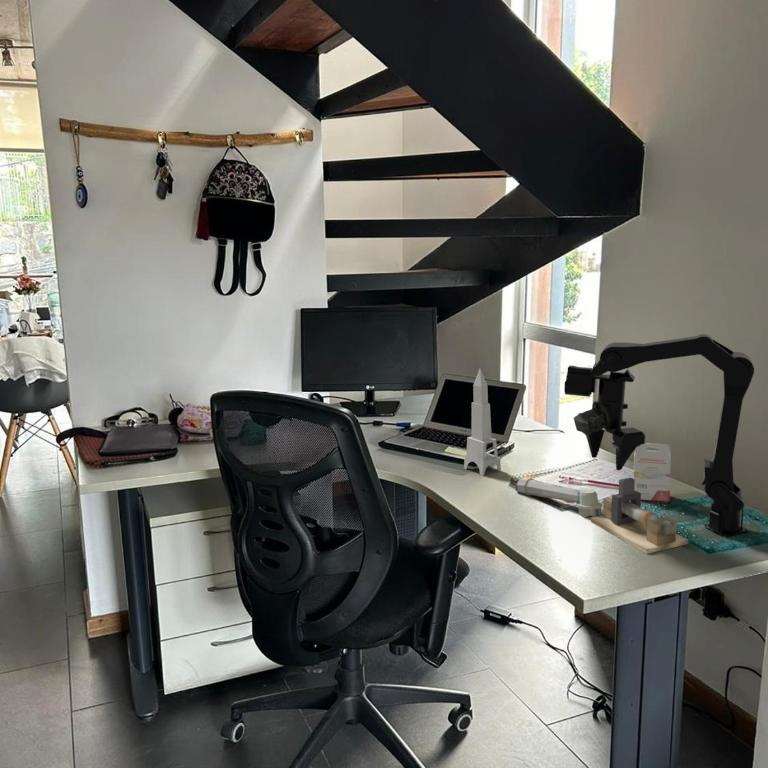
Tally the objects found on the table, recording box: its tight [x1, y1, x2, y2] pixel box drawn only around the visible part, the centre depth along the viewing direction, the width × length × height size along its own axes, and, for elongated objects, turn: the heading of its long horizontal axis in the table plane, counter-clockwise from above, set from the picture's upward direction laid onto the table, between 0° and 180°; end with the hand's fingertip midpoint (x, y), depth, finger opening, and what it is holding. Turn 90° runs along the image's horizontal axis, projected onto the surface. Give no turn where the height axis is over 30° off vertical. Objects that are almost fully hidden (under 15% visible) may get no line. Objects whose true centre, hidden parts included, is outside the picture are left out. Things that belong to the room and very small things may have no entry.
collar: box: [611, 477, 642, 525], centre depth 164 cm, size 6×2×10 cm, turn 110°
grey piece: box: [514, 477, 603, 518], centre depth 180 cm, size 5×7×25 cm
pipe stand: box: [590, 493, 689, 555], centre depth 161 cm, size 11×19×6 cm, turn 20°
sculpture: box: [463, 368, 502, 477], centre depth 206 cm, size 7×8×30 cm
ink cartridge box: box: [633, 442, 671, 503], centre depth 180 cm, size 9×5×15 cm, turn 68°
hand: (606, 463), depth 168 cm, fingers open, 9 cm apart
